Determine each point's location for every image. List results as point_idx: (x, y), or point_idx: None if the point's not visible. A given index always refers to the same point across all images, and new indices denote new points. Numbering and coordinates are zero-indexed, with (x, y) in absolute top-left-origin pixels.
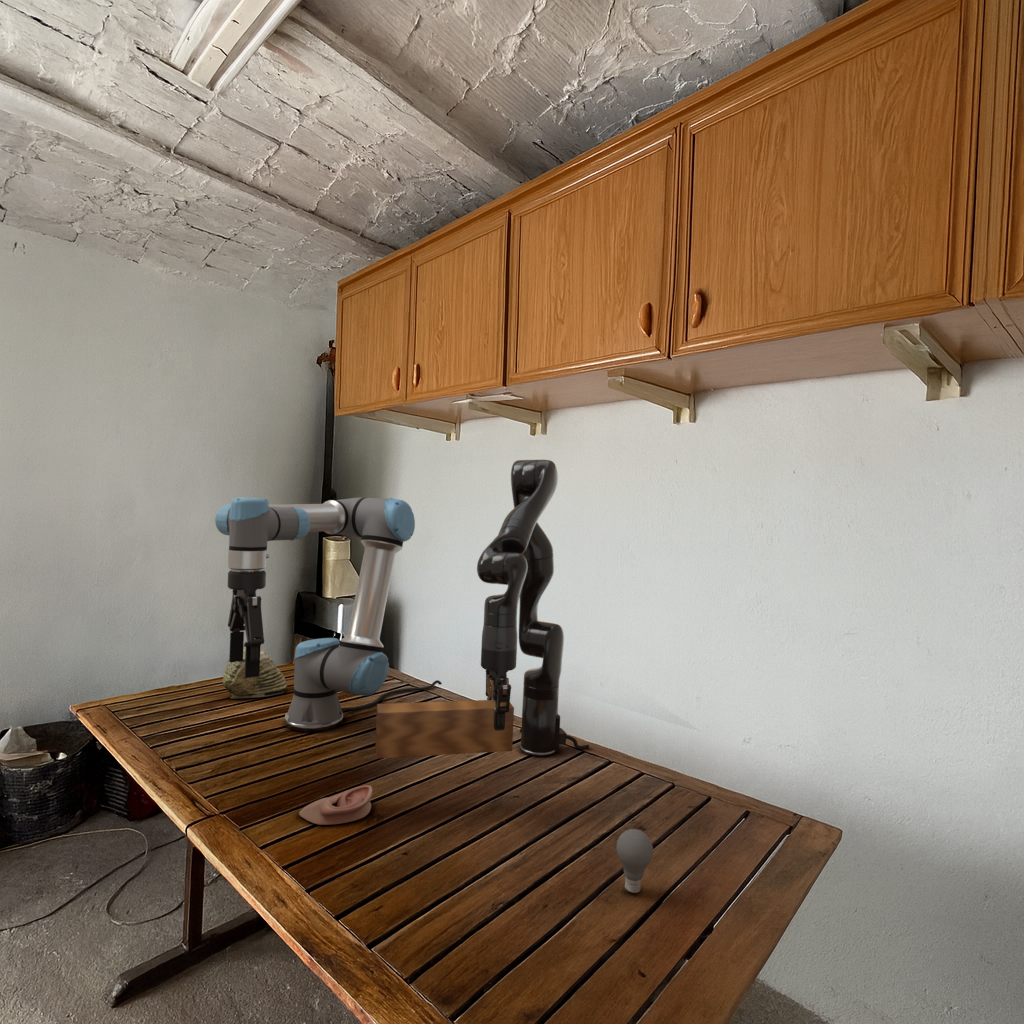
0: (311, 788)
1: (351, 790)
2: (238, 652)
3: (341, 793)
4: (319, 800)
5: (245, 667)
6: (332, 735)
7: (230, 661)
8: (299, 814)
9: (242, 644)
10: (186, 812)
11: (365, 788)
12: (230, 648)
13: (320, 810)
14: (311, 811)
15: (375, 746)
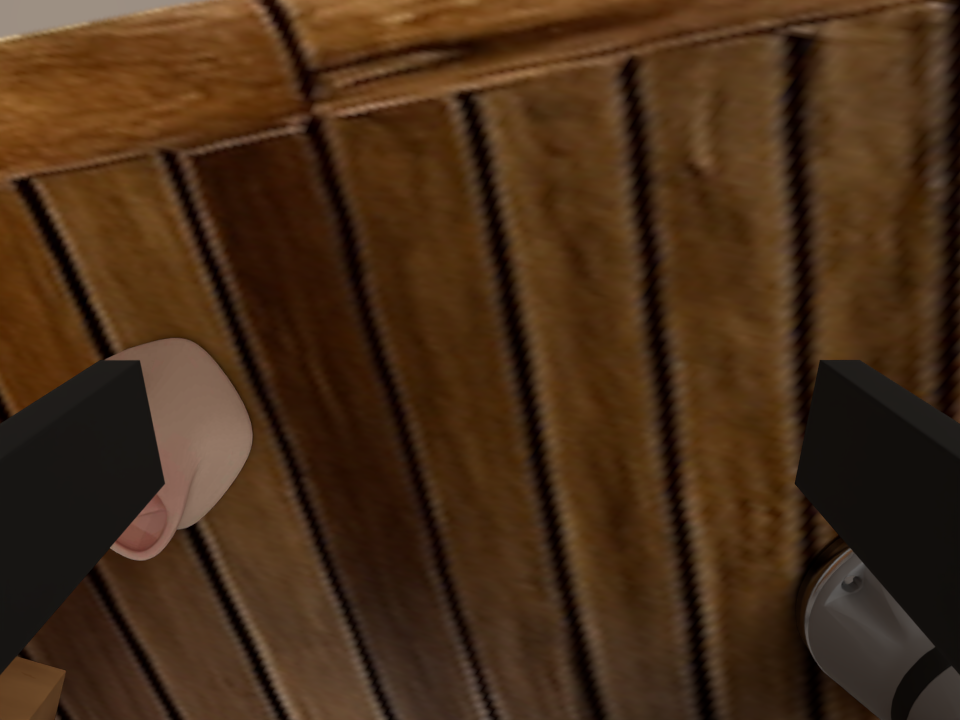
0: (360, 424)
1: (166, 507)
2: (863, 496)
3: (166, 477)
4: (202, 412)
5: (51, 406)
6: (742, 604)
7: (822, 368)
8: (176, 338)
9: (915, 606)
10: (374, 4)
11: (153, 544)
12: (932, 436)
13: None
14: (145, 370)
15: (50, 674)
